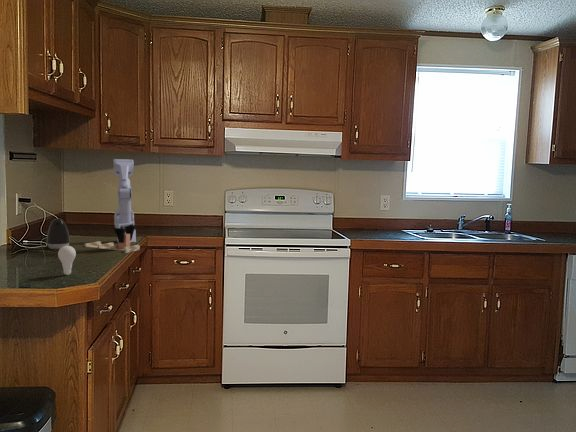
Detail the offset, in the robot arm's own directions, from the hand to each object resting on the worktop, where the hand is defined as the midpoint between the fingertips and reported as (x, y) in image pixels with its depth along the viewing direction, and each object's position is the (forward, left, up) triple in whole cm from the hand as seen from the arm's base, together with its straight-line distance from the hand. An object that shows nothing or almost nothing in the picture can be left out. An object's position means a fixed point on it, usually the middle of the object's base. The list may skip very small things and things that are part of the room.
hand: (125, 241), depth 243 cm
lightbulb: (+53, +18, -5) cm, 56 cm away
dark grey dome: (+13, -29, -5) cm, 32 cm away
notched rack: (0, -8, -4) cm, 9 cm away
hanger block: (0, 0, -3) cm, 3 cm away
